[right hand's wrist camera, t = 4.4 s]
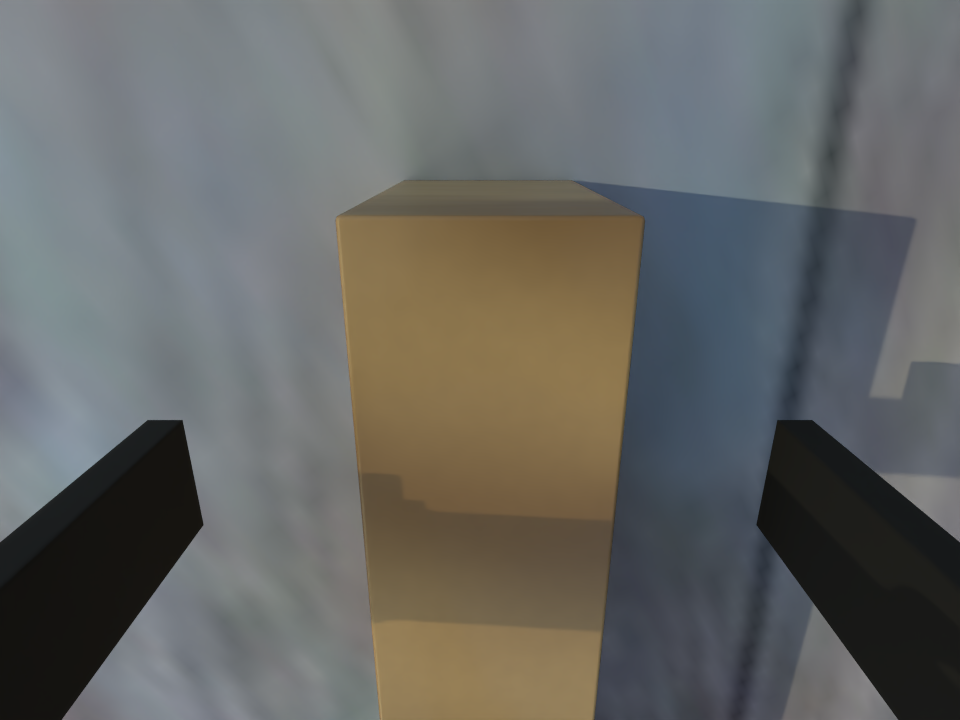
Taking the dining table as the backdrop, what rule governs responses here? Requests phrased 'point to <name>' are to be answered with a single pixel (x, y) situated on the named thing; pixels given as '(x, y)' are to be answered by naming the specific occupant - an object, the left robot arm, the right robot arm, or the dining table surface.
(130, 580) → the right robot arm
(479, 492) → the post
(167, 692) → the dining table surface
